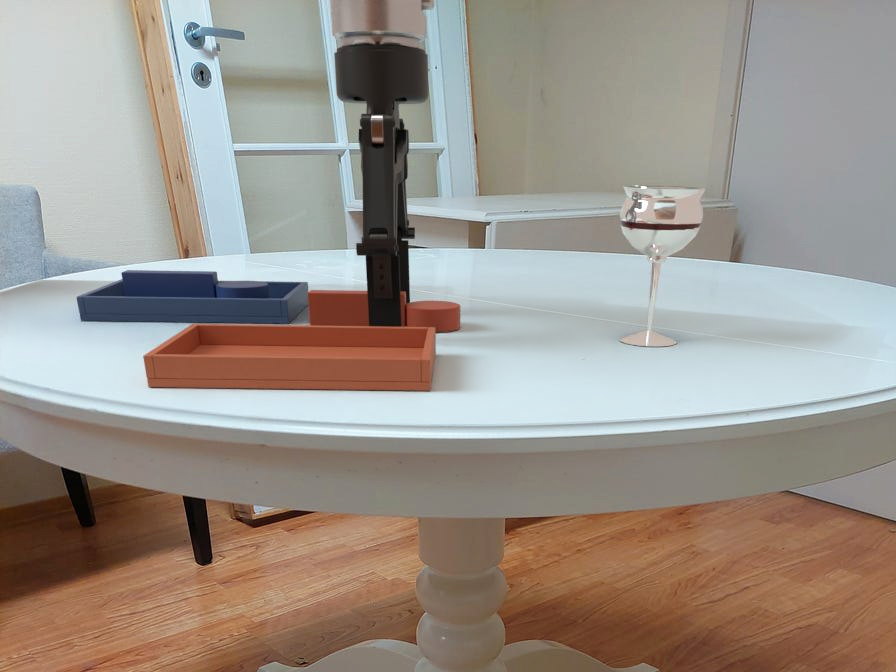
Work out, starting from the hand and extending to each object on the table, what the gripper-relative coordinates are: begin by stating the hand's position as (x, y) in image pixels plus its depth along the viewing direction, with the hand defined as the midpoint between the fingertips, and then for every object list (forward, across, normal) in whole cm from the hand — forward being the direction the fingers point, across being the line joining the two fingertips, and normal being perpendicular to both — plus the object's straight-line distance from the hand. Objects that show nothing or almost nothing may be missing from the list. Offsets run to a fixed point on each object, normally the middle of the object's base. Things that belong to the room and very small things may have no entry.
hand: (391, 324), depth 81 cm
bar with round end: (0, 0, 0) cm, 0 cm away
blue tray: (0, +7, +19) cm, 20 cm away
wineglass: (+1, -5, -23) cm, 23 cm away
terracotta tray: (0, -18, +5) cm, 19 cm away
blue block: (-1, +7, +19) cm, 20 cm away
